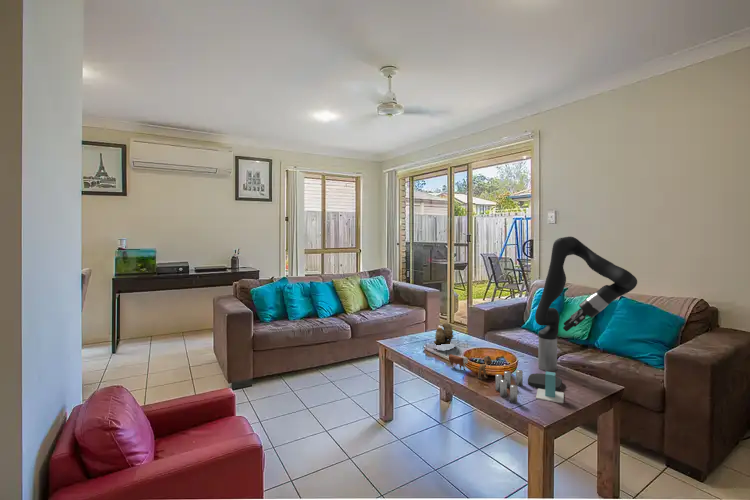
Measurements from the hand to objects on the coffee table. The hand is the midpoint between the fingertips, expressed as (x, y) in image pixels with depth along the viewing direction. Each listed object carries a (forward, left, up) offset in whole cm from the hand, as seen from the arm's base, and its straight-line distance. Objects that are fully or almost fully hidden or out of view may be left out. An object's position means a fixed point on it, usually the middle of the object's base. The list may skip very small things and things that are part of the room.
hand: (564, 327), depth 172 cm
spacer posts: (+10, -24, -31) cm, 40 cm away
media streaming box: (-7, -9, -31) cm, 33 cm away
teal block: (+7, -6, -30) cm, 31 cm away
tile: (+7, -6, -31) cm, 32 cm away
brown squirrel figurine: (-42, -71, -31) cm, 88 cm away
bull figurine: (-8, -52, -31) cm, 61 cm away
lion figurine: (-5, -37, -31) cm, 49 cm away
